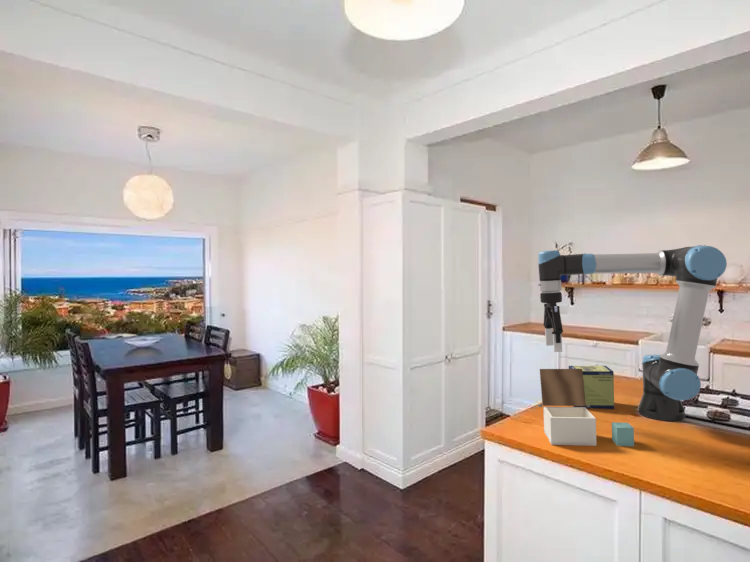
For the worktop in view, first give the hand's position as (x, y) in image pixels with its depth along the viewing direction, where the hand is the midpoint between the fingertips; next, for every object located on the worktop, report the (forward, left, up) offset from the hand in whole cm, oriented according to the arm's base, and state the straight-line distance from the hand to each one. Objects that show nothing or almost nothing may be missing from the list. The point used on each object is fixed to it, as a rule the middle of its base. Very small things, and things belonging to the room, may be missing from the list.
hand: (553, 348), depth 171 cm
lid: (-1, +9, -12) cm, 15 cm away
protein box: (-19, -23, -28) cm, 41 cm away
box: (-1, +16, -28) cm, 32 cm away
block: (-17, +19, -28) cm, 38 cm away
